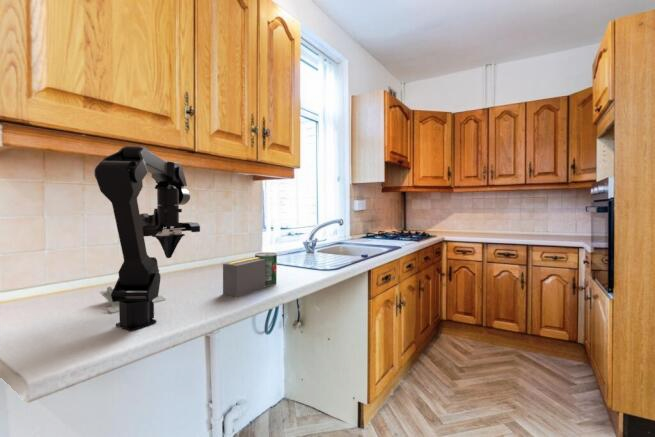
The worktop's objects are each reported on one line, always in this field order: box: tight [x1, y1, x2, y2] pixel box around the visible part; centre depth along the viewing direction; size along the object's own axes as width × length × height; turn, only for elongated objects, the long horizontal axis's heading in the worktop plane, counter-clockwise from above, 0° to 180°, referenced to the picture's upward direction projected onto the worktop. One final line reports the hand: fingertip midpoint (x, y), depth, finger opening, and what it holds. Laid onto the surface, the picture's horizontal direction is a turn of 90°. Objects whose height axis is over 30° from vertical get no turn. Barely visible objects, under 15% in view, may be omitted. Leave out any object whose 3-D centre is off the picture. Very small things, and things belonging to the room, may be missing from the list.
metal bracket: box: [99, 286, 167, 315], centre depth 96 cm, size 14×6×15 cm
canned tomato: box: [254, 252, 278, 287], centre depth 121 cm, size 8×8×11 cm
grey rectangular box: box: [222, 257, 266, 298], centre depth 111 cm, size 14×6×10 cm, turn 152°
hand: (168, 257), depth 98 cm, fingers closed
